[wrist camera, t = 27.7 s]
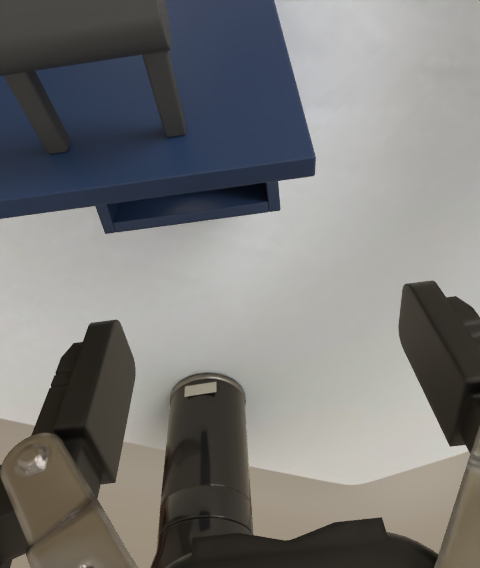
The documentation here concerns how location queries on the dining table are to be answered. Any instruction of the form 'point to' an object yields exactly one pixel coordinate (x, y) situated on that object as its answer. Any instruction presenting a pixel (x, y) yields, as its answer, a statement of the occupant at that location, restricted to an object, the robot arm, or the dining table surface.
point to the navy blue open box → (190, 207)
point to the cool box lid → (143, 101)
